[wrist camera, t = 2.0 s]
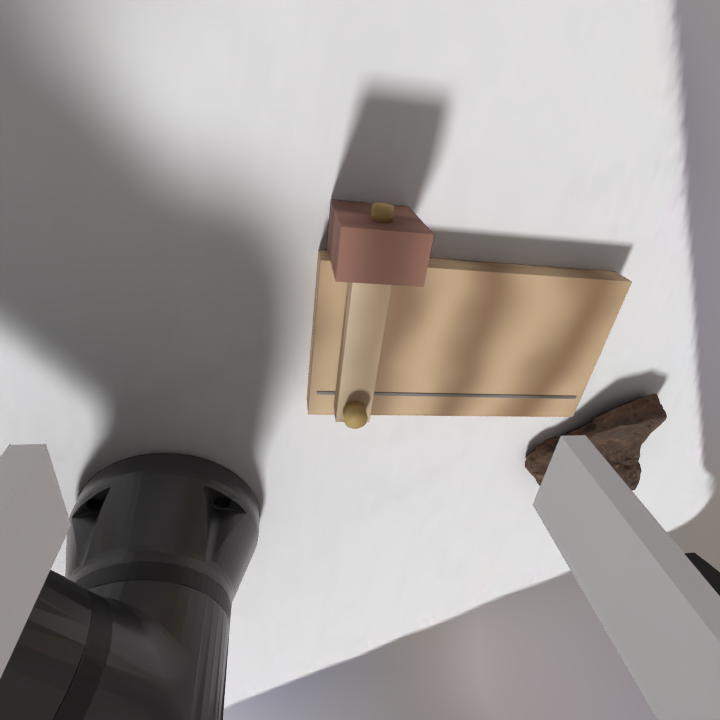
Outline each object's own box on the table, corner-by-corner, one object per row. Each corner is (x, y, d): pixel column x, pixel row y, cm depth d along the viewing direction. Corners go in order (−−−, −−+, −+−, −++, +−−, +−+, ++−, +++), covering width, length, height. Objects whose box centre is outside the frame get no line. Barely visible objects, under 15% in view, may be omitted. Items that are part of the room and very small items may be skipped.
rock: (648, 385, 42) (678, 411, 39) (618, 470, 48) (642, 498, 45) (530, 400, 41) (551, 427, 38) (513, 485, 47) (530, 515, 43)
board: (306, 398, 37) (308, 415, 35) (318, 249, 31) (320, 260, 29) (560, 402, 41) (573, 417, 39) (615, 271, 35) (632, 282, 33)
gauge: (314, 389, 37) (319, 440, 32) (331, 186, 29) (342, 210, 24) (377, 390, 37) (392, 440, 32) (410, 193, 30) (437, 219, 25)
